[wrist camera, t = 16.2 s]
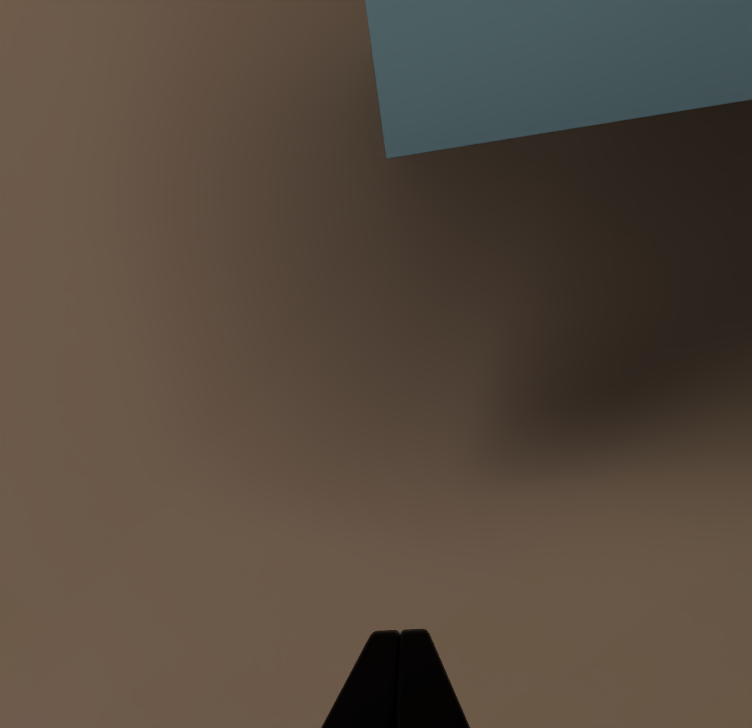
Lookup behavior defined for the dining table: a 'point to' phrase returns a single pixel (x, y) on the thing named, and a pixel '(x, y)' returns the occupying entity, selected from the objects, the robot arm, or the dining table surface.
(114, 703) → the dining table surface
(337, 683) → the dining table surface
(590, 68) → the vise body
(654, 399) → the dining table surface
